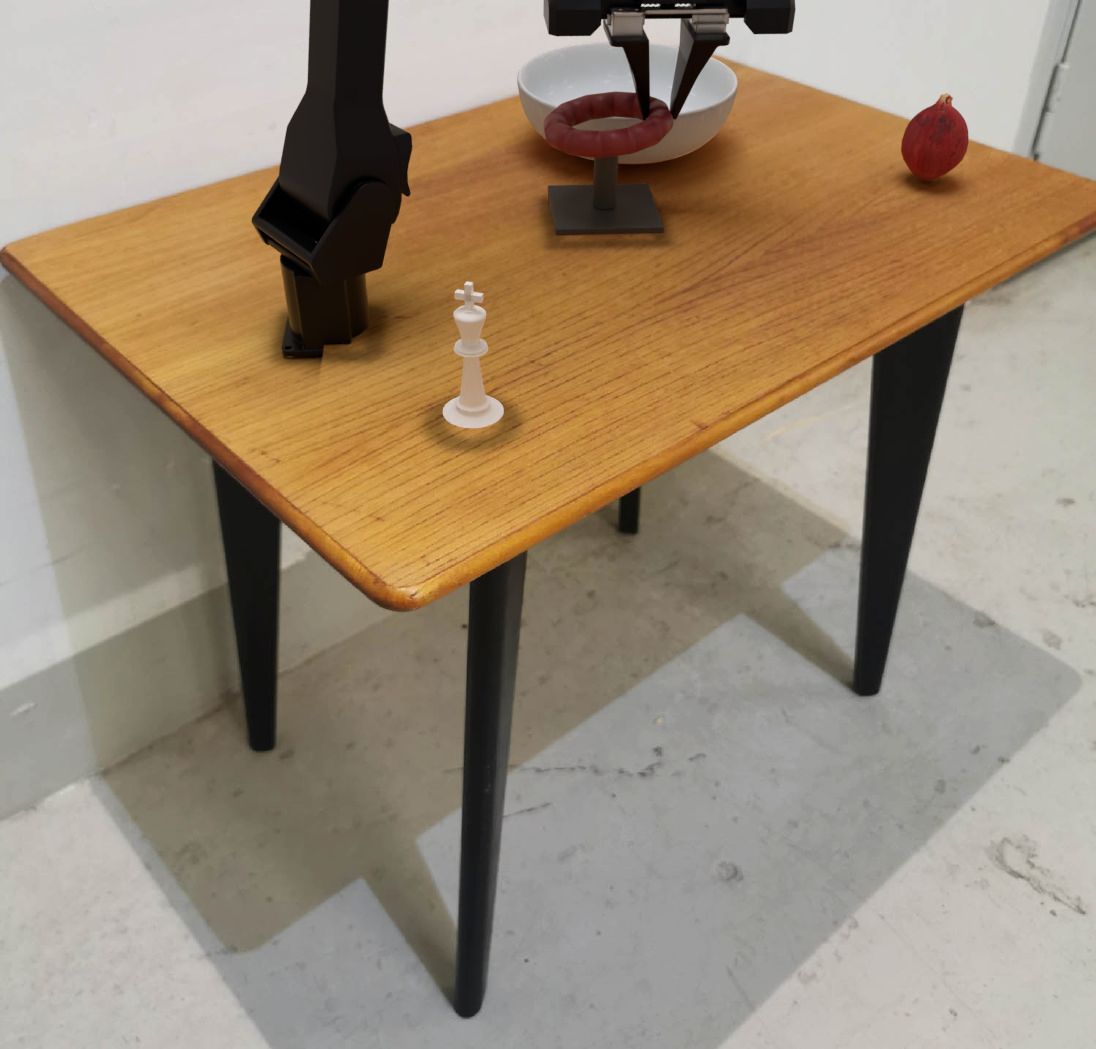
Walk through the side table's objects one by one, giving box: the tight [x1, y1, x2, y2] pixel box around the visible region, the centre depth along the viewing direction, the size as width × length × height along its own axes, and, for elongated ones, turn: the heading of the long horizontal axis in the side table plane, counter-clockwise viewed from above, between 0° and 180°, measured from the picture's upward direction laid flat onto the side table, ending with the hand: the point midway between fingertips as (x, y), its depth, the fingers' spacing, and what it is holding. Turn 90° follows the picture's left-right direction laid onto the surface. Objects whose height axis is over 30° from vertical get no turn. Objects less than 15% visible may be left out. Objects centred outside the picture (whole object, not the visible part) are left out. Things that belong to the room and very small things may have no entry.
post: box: [546, 156, 665, 236], centre depth 95 cm, size 9×9×6 cm
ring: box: [543, 91, 673, 158], centre depth 92 cm, size 10×10×2 cm
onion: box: [900, 92, 969, 183], centre depth 102 cm, size 6×6×8 cm
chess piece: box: [442, 281, 505, 429], centre depth 70 cm, size 5×5×10 cm
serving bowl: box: [516, 41, 739, 165], centre depth 108 cm, size 21×21×7 cm
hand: (658, 118), depth 92 cm, fingers closed on ring, 2 cm apart
